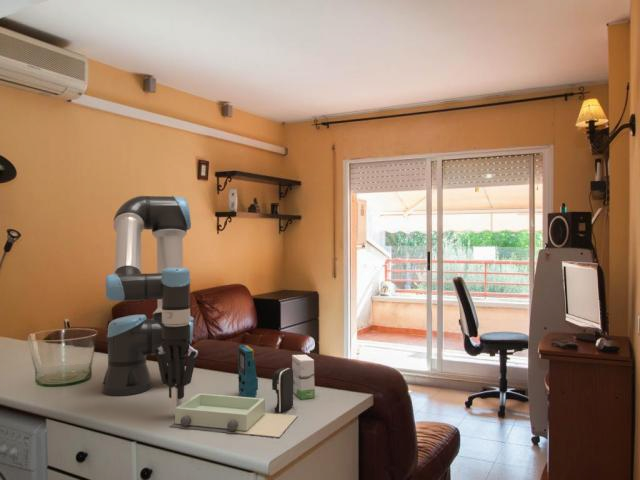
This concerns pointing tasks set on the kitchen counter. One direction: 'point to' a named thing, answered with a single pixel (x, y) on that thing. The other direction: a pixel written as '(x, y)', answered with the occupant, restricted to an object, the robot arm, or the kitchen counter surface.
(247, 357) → the handheld gaming console
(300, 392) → the ink box
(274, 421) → the track
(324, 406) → the kitchen counter surface
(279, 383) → the battery charger
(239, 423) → the shallow sage green tray
